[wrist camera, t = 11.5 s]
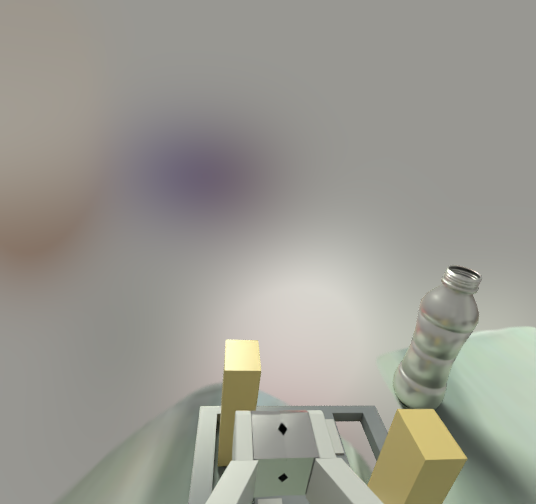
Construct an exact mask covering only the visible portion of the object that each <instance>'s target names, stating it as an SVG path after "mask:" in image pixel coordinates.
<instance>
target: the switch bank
mask: <svg viewBox="0 0 536 504" xmlns="http://www.w3.org/2000/svg"><path fill="white" fill-rule="evenodd" d="M284 410H306V411H307V410H321V411H322V412H323V414H324V417H325V421H326V424H327V427H328V431H329V434H330V437H331V441H332V444H333V447H334V451H335V454H336V457H337V458H342V459H343V460H344V462H345V463H346V464H347V465H348V466H349V463H348V460H347V457H346V454H345V450H344V447H343V444H342V441H341V438H340V435H339V432H338V429H337V426H336V423H335V421H360V422H361V424H362V426H363V429H364V431H365V434H366V436H367V439H368V441H369V444H370V446H371V448H372V451H373V453H374V456H375V458H376V461H377V460H378V457H379V455H380V452H381V449H382V447H383V444H384V442H385V439H386V437H387V434H388V432H387V430H386V428H385V426H384V424H383V422H382V420H381V418H380V415H379V413H378V411H377V409H376V407H375V406H256V411H284ZM220 415H221V406H200V414H199V422H198V430H197V438H196V446H195V454H194V462H193V470H192V478H191V486H190V494H189V502H188V504H205V503H206V502H207V500H208V498H209V497H210V495H211V493H212V482H213V467H214V452H215V437H216V423H217V422H220ZM349 467H350V466H349ZM253 499H254V504H310V503H309V501H308V500H307V498H306V495H287V496H280V495H279V496H267V497H255V498H253Z"/></svg>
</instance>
